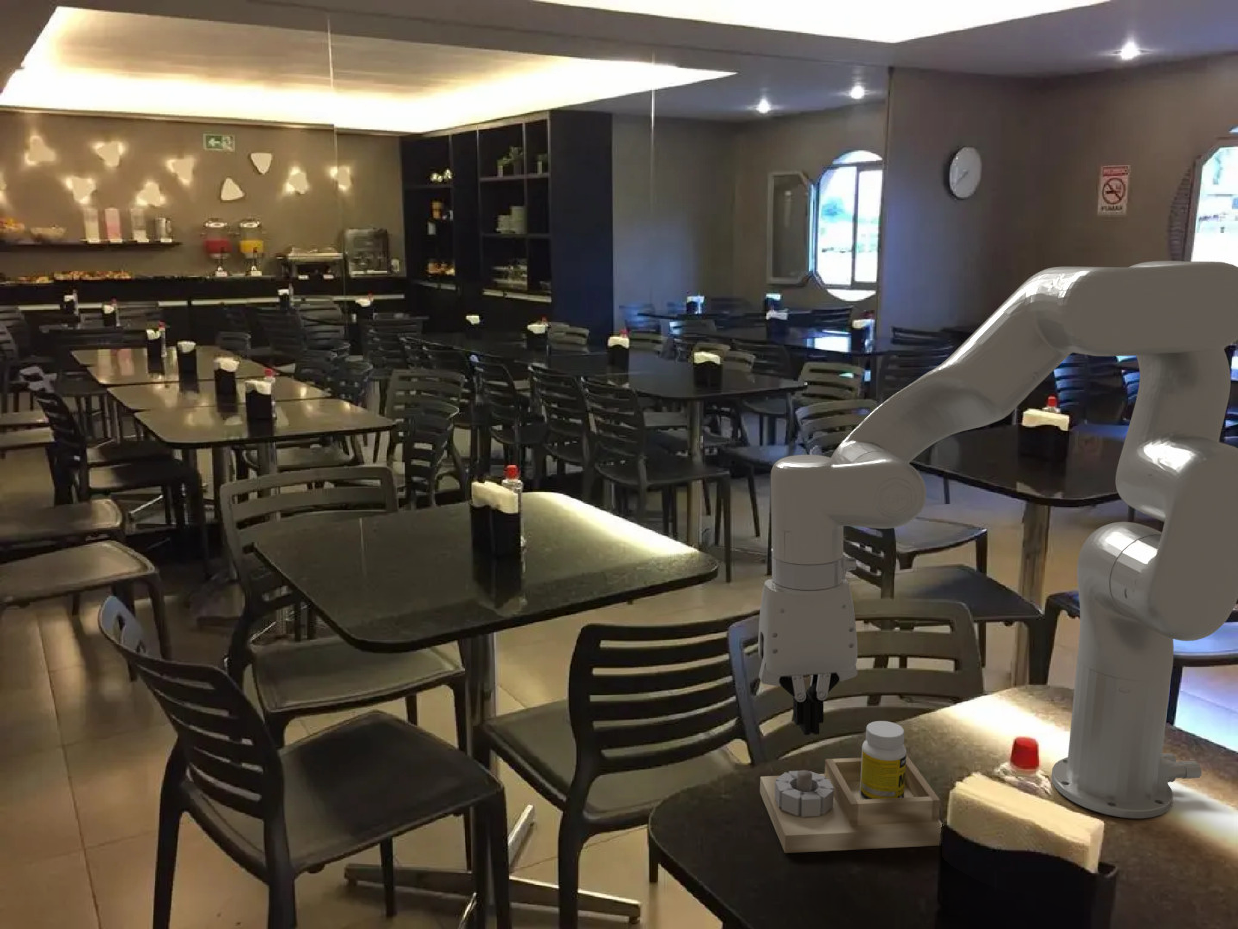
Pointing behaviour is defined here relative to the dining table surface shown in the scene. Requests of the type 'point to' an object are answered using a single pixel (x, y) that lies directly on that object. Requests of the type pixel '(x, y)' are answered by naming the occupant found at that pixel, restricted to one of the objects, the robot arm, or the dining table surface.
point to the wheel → (804, 795)
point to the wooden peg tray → (857, 813)
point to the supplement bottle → (883, 761)
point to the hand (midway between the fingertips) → (808, 729)
